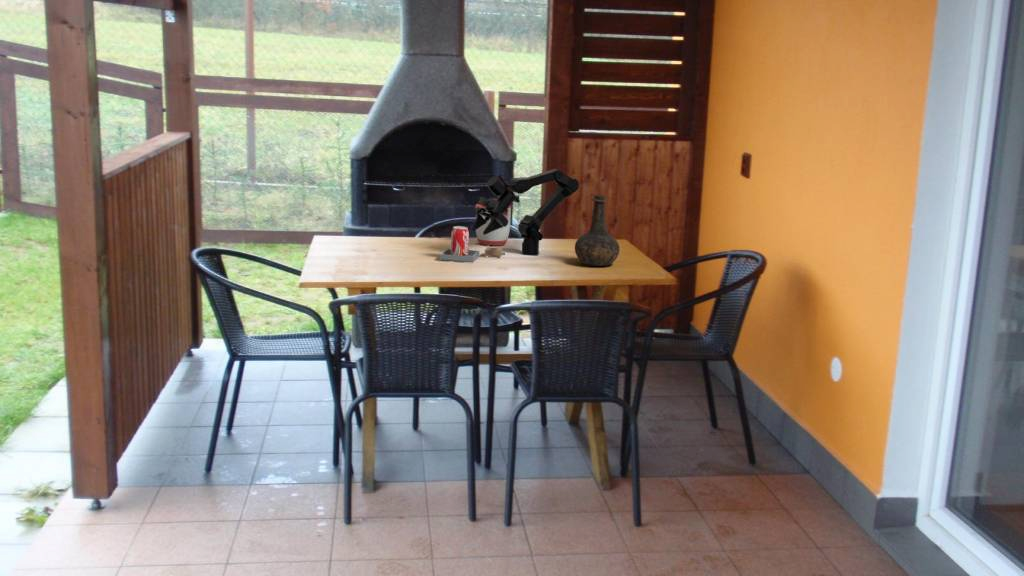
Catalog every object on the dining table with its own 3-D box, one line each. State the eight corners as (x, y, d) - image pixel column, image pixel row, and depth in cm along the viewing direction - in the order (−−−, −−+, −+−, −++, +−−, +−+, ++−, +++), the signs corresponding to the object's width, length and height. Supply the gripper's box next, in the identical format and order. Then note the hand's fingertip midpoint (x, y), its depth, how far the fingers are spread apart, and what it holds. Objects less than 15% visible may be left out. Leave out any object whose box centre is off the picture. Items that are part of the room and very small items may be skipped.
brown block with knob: (505, 254, 412) (505, 247, 411) (501, 258, 403) (502, 250, 403) (485, 253, 413) (486, 245, 412) (482, 257, 404) (482, 249, 404)
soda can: (460, 259, 394) (461, 229, 392) (446, 256, 398) (447, 227, 396) (471, 257, 400) (472, 227, 397) (458, 254, 404) (459, 225, 401)
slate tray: (479, 256, 404) (479, 250, 404) (473, 263, 391) (473, 256, 391) (446, 254, 406) (446, 248, 405) (439, 260, 393) (439, 254, 393)
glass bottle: (610, 260, 409) (614, 192, 403) (624, 269, 392) (629, 198, 386) (568, 260, 405) (572, 191, 399) (580, 269, 388) (584, 197, 382)
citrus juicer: (486, 249, 422) (488, 201, 418) (467, 242, 437) (469, 196, 433) (518, 246, 430) (520, 200, 426) (499, 240, 445) (500, 195, 440)
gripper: (479, 187, 407) (454, 215, 404) (502, 193, 392) (477, 222, 389) (495, 205, 413) (471, 233, 410) (519, 211, 397) (494, 241, 394)
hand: (478, 232), depth 400 cm, fingers open, 9 cm apart
